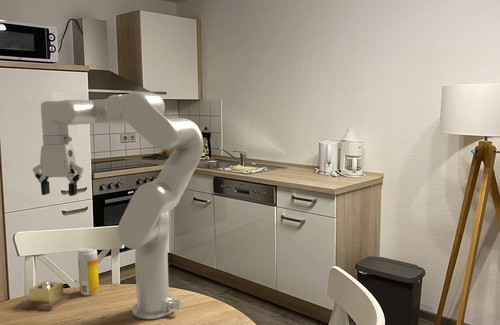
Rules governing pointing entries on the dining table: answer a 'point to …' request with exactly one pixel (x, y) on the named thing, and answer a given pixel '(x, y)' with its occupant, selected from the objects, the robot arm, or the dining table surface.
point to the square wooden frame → (46, 293)
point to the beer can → (88, 271)
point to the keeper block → (46, 305)
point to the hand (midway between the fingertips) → (59, 194)
